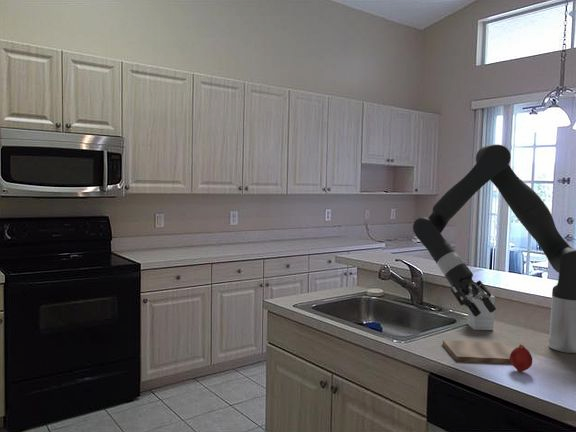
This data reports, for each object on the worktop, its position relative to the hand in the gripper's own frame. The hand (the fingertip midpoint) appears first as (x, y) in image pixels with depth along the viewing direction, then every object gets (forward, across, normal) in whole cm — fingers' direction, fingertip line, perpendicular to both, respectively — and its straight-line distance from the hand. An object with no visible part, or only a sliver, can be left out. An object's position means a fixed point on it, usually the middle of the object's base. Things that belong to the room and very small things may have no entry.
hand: (486, 313), depth 144 cm
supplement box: (-3, +31, +24) cm, 39 cm away
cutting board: (+8, +4, +12) cm, 15 cm away
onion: (+18, 0, +2) cm, 18 cm away
